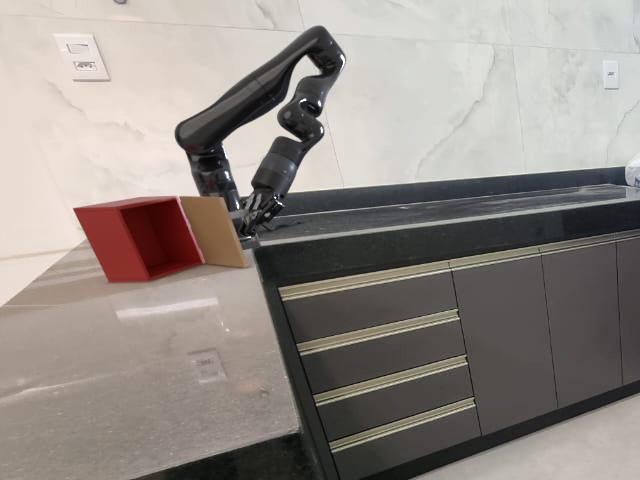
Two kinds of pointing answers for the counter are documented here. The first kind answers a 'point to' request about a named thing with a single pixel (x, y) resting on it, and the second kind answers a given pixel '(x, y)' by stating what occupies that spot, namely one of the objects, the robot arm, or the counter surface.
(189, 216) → the wooden cabinet door
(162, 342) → the counter surface
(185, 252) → the red cabinet
